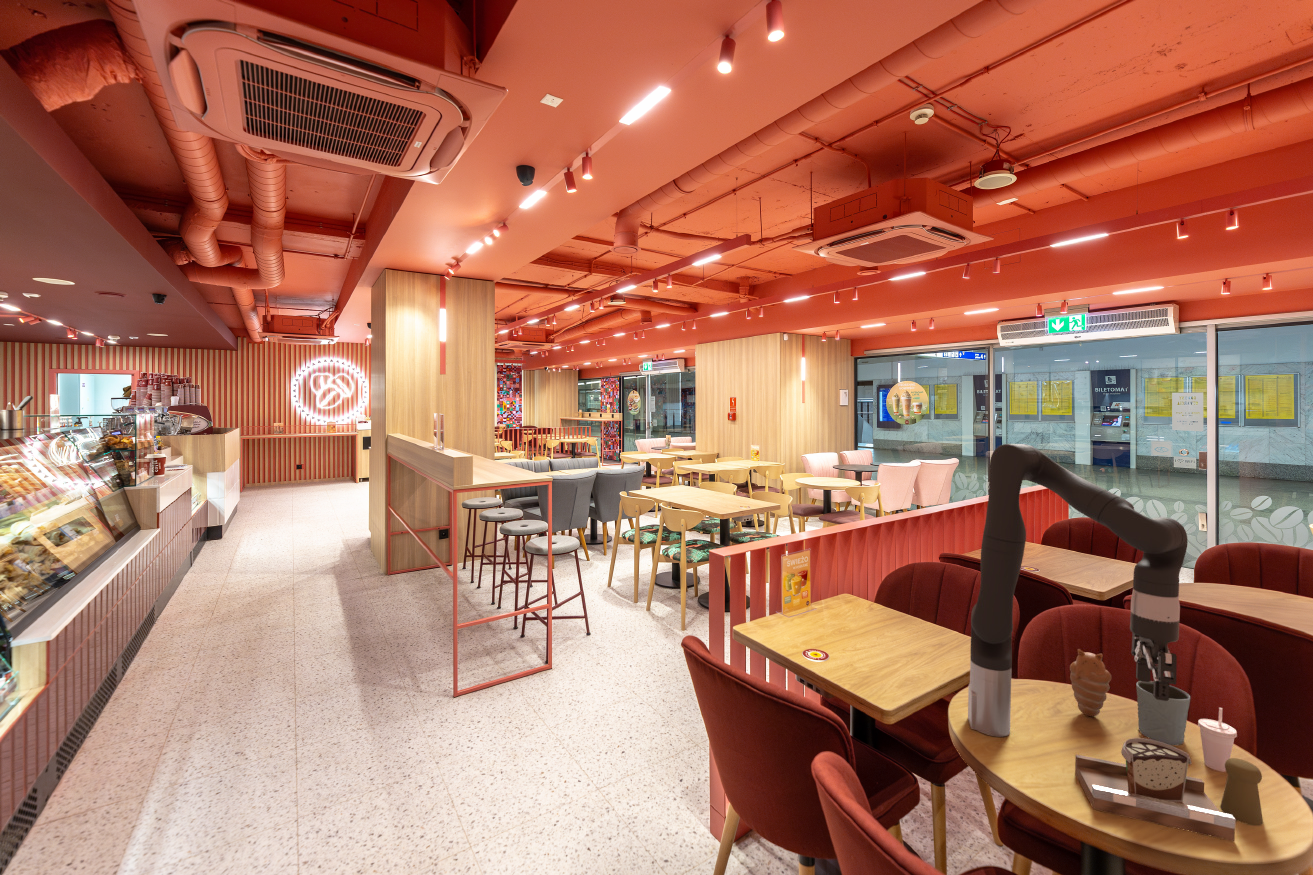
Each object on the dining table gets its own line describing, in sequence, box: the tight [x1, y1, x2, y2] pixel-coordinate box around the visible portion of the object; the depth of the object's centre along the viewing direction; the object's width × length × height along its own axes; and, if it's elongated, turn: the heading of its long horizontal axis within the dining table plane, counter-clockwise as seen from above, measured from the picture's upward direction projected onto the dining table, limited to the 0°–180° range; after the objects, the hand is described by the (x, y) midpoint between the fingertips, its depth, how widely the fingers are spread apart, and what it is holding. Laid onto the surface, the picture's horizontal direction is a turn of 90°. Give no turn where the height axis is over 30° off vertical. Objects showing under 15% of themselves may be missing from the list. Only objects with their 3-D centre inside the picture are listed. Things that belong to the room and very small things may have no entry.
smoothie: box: [1197, 707, 1238, 773], centre depth 127 cm, size 6×6×14 cm
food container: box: [1121, 737, 1192, 802], centre depth 115 cm, size 12×6×10 cm, turn 87°
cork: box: [1219, 757, 1264, 827], centre depth 112 cm, size 6×6×11 cm
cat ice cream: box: [1069, 648, 1112, 717], centre depth 149 cm, size 9×8×18 cm
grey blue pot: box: [1135, 680, 1191, 746], centre depth 139 cm, size 10×10×12 cm
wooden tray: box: [1074, 754, 1236, 842], centre depth 115 cm, size 22×13×4 cm, turn 67°
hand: (1151, 689), depth 114 cm, fingers open, 8 cm apart
